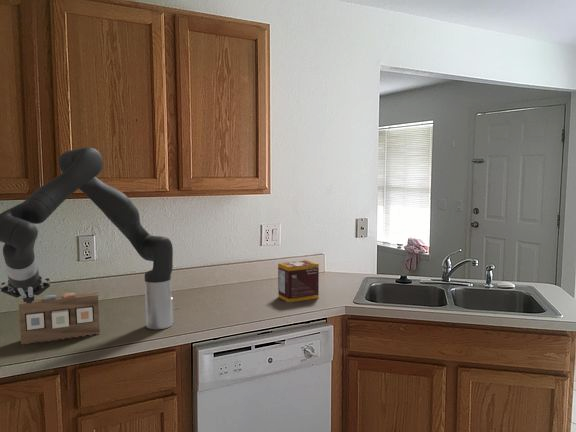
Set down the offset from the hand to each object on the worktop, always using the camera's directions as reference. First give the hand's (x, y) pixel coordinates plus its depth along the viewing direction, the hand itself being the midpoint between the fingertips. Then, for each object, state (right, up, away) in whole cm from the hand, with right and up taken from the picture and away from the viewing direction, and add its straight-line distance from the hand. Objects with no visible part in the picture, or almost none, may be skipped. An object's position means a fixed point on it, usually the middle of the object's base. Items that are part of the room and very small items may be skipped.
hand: (29, 300), depth 140 cm
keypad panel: (0, -16, +20) cm, 25 cm away
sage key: (+2, -11, +16) cm, 20 cm away
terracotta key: (+7, -11, +21) cm, 25 cm away
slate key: (-6, -12, +15) cm, 20 cm away
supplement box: (+83, -11, +67) cm, 107 cm away
